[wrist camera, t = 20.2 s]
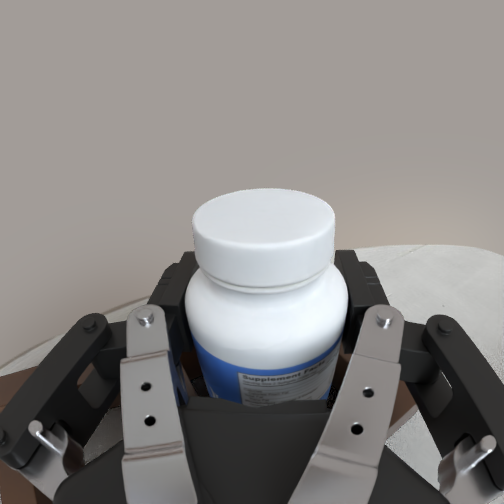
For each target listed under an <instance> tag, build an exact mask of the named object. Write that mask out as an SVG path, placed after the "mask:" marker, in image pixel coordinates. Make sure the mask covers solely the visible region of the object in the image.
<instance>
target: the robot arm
mask: <svg viewBox="0 0 504 504" xmlns="http://www.w3.org/2000/svg"><path fill="white" fill-rule="evenodd" d="M334 265H335V266H336V268H337V269H338V270H339V271H340V273H341V274H342V276H343V278H344V280H345V283H346V286H347V290H348V308H347V314H346V321H345V326H344V331H343V336H342V346H343V352H344V354H352V356H351V359H350V362H349V365H348V368H347V371H346V374H345V377H344V379H343V382H342V385H341V388H340V390H339V393H338V396H337V398H336V401H335V404H334V406H333V409H327V402H326V399H321V400H292V401H287V402H283V403H278V404H273V405H268V406H263V407H251V406H247V405H243V404H240V403H236V402H233V401H229V400H226V399H222V398H211V397H200V396H190V395H189V397H188V393H187V389H186V384H185V380H184V375H183V370H182V365H181V362H180V356H181V353H182V352H192V348H193V345H194V342H193V339H192V335H191V331H190V328H189V323H188V319H187V315H186V310H185V294H186V290H187V287H188V284H189V282H190V280H191V278H192V276H193V275H194V274H195V272H196V271H197V270H198V269H199V268H200V266H199V264H198V262H197V260H196V257H195V251H193V252H192V251H190V252H184V254H183V256H182V258H181V260H180V262H179V263H173V264H172V265H171V266H169V267H168V268H167V269H166V270H165V271H164V273H163V275H162V277H161V279H160V280H159V282H158V285H157V286H156V288H155V289H154V291H153V293H152V295H151V297H150V299H149V301H148V303H147V304H146V305H143V306H140V307H138V308H136V309H134V310H133V311H132V312H131V313H130V314H129V315H128V317H127V320H126V321H121V322H115V323H109V324H108V322H107V319H106V317H105V316H104V315H102V314H99V313H92V314H88V315H86V316H84V317H82V318H81V319H80V320H78V321H77V323H76V324H75V325H74V326H73V327H72V328H71V329H70V330H69V331H68V332H67V333H66V335H65V336H64V337H63V338H62V339H61V340H60V341H59V342H58V343H57V345H56V346H55V347H54V348H53V349H52V350H51V351H50V353H49V354H48V355H47V356H46V357H45V358H44V360H43V361H42V362H41V363H40V364H39V365H38V367H37V368H36V369H35V370H34V371H33V373H32V374H31V375H30V376H29V377H28V379H27V380H26V381H25V382H24V384H23V385H22V386H21V387H20V388H19V390H18V391H17V392H16V394H15V395H14V396H13V397H12V399H11V400H10V401H9V402H8V404H7V405H6V406H5V408H4V409H3V410H2V412H1V413H0V460H2V461H3V462H4V463H6V465H7V466H8V467H10V468H11V469H13V470H14V471H15V472H17V473H18V474H20V475H21V476H23V477H25V478H26V479H28V480H29V481H30V482H31V483H32V484H33V485H34V486H35V487H37V488H38V489H39V490H40V491H41V492H42V493H44V494H45V495H46V496H47V497H48V498H50V499H51V500H52V501H53V504H488V503H489V502H491V501H493V500H495V499H497V498H498V497H500V496H502V495H504V385H503V383H502V382H501V380H500V379H499V377H498V376H497V374H496V373H495V372H494V370H493V369H492V367H491V366H490V364H489V363H488V362H487V360H486V359H485V358H484V356H483V355H482V353H481V352H480V351H479V349H478V348H477V347H476V345H475V344H474V343H473V341H472V340H471V339H470V338H469V336H468V335H467V334H466V332H465V331H464V330H463V329H462V327H461V326H460V325H459V324H458V322H457V321H455V320H454V319H453V318H451V317H449V316H446V315H434V316H432V317H430V318H429V319H428V321H427V323H426V325H423V324H417V323H412V322H408V321H405V320H404V317H403V315H402V314H401V312H400V311H399V310H397V309H396V308H394V307H392V306H390V304H389V302H388V300H387V297H386V295H385V292H384V290H383V288H382V285H380V281H379V279H378V278H377V277H378V276H377V274H376V272H375V270H374V268H373V267H372V266H371V265H369V264H368V263H367V262H359V261H358V258H357V256H356V253H355V251H354V250H336V252H335V260H334ZM90 363H92V365H93V366H94V369H93V370H92V371H91V373H90V374H89V375H88V377H87V378H86V379H85V381H84V382H83V383H82V385H81V386H80V387H79V389H78V388H77V382H78V379H79V377H80V376H81V375H82V373H83V372H84V371H85V369H86V368H87V367H88V366H89V364H90ZM442 372H443V374H444V375H445V377H446V378H447V380H448V382H449V383H450V385H451V387H452V388H451V387H450V385H449V384H448V382H447V380H446V379H445V377H444V375H443V374H442ZM399 380H401V381H404V382H405V384H406V386H407V388H408V390H409V392H410V394H411V395H412V397H413V399H414V401H415V403H416V405H417V407H418V409H419V411H420V413H421V415H422V417H423V419H424V421H425V423H426V425H427V427H428V429H429V431H430V433H431V435H432V437H433V440H434V442H435V444H436V446H437V448H438V450H439V452H440V455H441V457H442V460H441V462H440V464H439V467H438V482H439V484H440V488H439V491H438V490H437V489H436V488H434V487H433V486H432V485H431V484H430V483H428V482H427V481H426V480H425V479H424V478H422V477H421V476H420V475H419V474H418V473H417V472H415V471H414V470H413V469H412V468H411V467H410V466H408V465H407V464H406V463H405V462H404V461H403V460H401V459H400V458H399V457H398V456H397V455H396V454H395V453H394V452H392V451H391V450H390V449H389V448H388V447H387V446H386V445H385V440H386V436H387V433H388V429H389V425H390V421H391V417H392V412H393V408H394V403H395V399H396V394H397V389H398V383H399ZM120 391H121V409H122V425H123V437H124V439H123V440H121V441H120V442H119V443H117V444H116V445H114V446H113V447H112V448H110V449H109V450H107V451H106V452H104V453H103V454H101V455H100V456H98V457H97V458H95V459H94V460H92V461H91V462H89V463H88V464H86V465H85V461H84V460H83V458H84V452H83V448H84V446H85V445H86V443H87V442H88V440H89V438H90V437H91V435H92V434H93V432H94V431H95V429H96V428H97V426H98V424H99V423H100V421H101V420H102V418H103V417H104V415H105V414H106V412H107V411H108V409H109V408H110V406H111V405H112V403H113V402H114V400H115V398H116V397H117V395H118V394H119V392H120Z"/></svg>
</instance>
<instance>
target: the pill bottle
mask: <svg viewBox="0 0 504 504" xmlns="http://www.w3.org/2000/svg"><path fill="white" fill-rule="evenodd" d="M192 229H193V236H194V244H195V257H196V260H197V262H198V264H199V266H200V268H199V269H198V270H197V271H196V272H195V274H194V275H193V276H192V278H191V280H190V282H189V284H188V287H187V290H186V294H185V310H186V315H187V319H188V323H189V328H190V331H191V335H192V339H193V342H194V346H195V349H196V353H197V357H198V360H199V363H200V366H201V370H202V373H203V376H204V380H205V383H206V386H207V389H208V392H209V395H210V397H211V398H222V399H226V400H229V401H233V402H236V403H240V404H243V405H247V406H251V407H263V406H268V405H273V404H278V403H283V402H287V401H292V400H321V399H326V402H327V399H328V395H329V391H330V387H331V383H332V379H333V376H334V372H335V367H336V363H337V359H338V354H339V349H340V345H341V341H342V336H343V331H344V326H345V321H346V314H347V308H348V290H347V286H346V283H345V280H344V278H343V276H342V274H341V273H340V271H339V270H338V269H337V268H336V266H335V265H334V264H333V263H332V262H331V259H332V257H333V254H334V234H335V215H334V212H333V209H332V208H331V207H330V206H329V205H328V204H327V203H326V202H325V201H323V200H322V199H320V198H318V197H316V196H313V195H310V194H307V193H304V192H300V191H295V190H287V189H275V188H273V189H272V188H265V189H264V188H263V189H249V190H242V191H237V192H233V193H229V194H225V195H222V196H219V197H217V198H214V199H212V200H210V201H208V202H206V203H205V204H203V205H202V206H200V207H199V208H198V209H197V211H196V212H195V213H194V215H193V218H192Z"/></svg>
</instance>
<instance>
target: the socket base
mask: <svg viewBox="0 0 504 504" xmlns="http://www.w3.org/2000/svg"><path fill="white" fill-rule="evenodd" d="M351 356H352V354H344V352H343V346H342V341H341V345H340V349H339V354H338V359H337V363H336V367H335V372H334V376H333V379H332V383H331V384H332V385H333V386H334V387H335V388H336V389H337V390H338V391H339V390H340V388H341V385H342V382H343V379H344V377H345V374H346V371H347V368H348V365H349V362H350V359H351ZM180 362H181V365H182V370H183V375H184V380H185V384H186V389H187V393H188V397H189V395H190V396H198V395H197V393H196V391H195V389H194V387H193V385H192V383H191V382H190V380H192V379H194V378H197V377H199V376H202V375H203V373H202V370H201V366H200V363H199V360H198V357H197V353H196V349H195V346H194V345H193V348H192V352H182V353H181V356H180ZM37 367H38V366H36V367H32V368H29V369H25V370H22V371H19V372H15V373H12V374H8V375H5V376H1V377H0V413H1V412H2V410H3V409H4V408H5V406H6V405H7V404H8V402H9V401H10V400H11V399H12V397H13V396H14V395H15V394H16V392H17V391H18V390H19V388H20V387H21V386H22V385H23V384H24V382H25V381H26V380H27V379H28V377H29V376H30V375H31V374H32V373H33V371H34V370H35V369H36V368H37ZM93 369H94V366H93V365H92V363H90V364H89V366H88V367H87V368H86V369H85V371H84V372H83V373H82V375H81V376H80V377H79V379H78V382H77V388H78V389H79V387H80V386H81V385H82V383H83V382H84V381H85V379H86V378H87V377H88V375H89V374H90V373H91V371H92V370H93ZM120 405H121V391H120V392H119V394H118V395H117V397H116V398H115V400H114V402H113V403H112V405H111V406H110V408H114V407H117V406H120ZM110 408H109V409H110ZM417 410H418V407H417V405H416V403H415V401H414V399H413V397H412V395H411V394H410V392H409V390H408V388H407V386H406V384H405V382H404V381H401V380H399V383H398V389H397V394H396V399H395V403H394V408H393V412H392V417H391V421H390V425H389V429H388V433H387V436H386V440H387V439H388V438H389V437H390V436H391V435H392V434H394V433H395V432H396V431H397V430H398V429H399V428H400V427H401V426H402V425H403V424H405V423H406V422H407V421H408V420H409V419H410V418H411V417H412V416H413V415H414V414H415V413H416V412H417ZM386 440H385V441H386ZM0 495H1V501H2V504H53V501H52V500H51V499H50V498H48V497H47V496H46V495H45V494H44V493H42V492H41V491H40V490H39V489H38V488H37V487H35V486H34V485H33V484H32V483H31V482H30V481H29V480H28V479H26V478H25V477H23V476H21V475H20V474H18V473H17V472H15V471H14V470H13V469H11V468H10V467H8V466H7V465H6V463H4V462H3V461H2V460H0Z"/></svg>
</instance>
